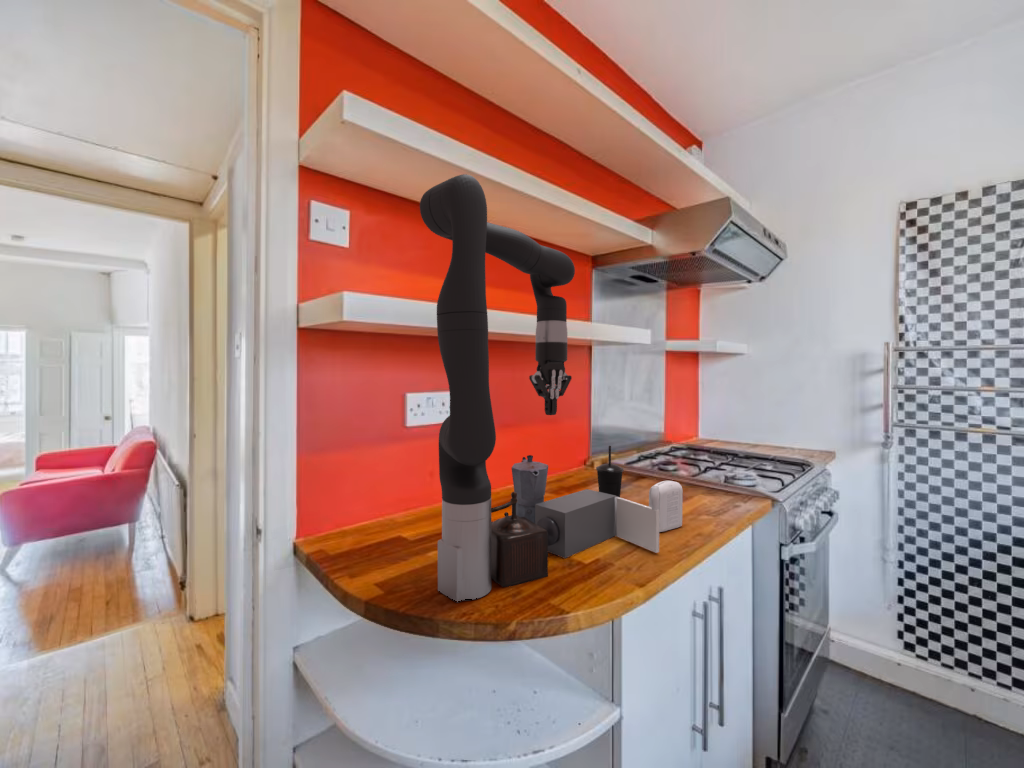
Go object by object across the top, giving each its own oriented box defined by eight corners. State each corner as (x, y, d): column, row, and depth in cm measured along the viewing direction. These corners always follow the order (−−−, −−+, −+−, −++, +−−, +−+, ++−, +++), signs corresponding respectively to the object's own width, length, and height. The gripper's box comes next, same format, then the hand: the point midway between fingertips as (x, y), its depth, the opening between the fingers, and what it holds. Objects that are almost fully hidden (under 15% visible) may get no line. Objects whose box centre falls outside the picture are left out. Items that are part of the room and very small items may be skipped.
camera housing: (561, 560, 96) (561, 514, 96) (531, 548, 102) (531, 505, 102) (616, 535, 111) (616, 495, 110) (586, 526, 117) (587, 489, 117)
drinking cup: (621, 511, 130) (621, 443, 129) (625, 520, 122) (625, 448, 122) (594, 511, 130) (595, 443, 130) (597, 519, 123) (597, 447, 122)
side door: (660, 551, 99) (661, 487, 99) (656, 552, 99) (656, 488, 98) (618, 533, 110) (618, 476, 110) (613, 535, 110) (614, 476, 109)
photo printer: (671, 522, 121) (671, 477, 120) (684, 526, 117) (685, 480, 117) (645, 529, 115) (646, 482, 115) (659, 534, 111) (660, 485, 111)
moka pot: (519, 544, 105) (519, 460, 104) (503, 523, 119) (502, 450, 119) (556, 540, 107) (556, 458, 107) (536, 520, 122) (536, 448, 122)
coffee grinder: (522, 556, 98) (522, 475, 98) (549, 576, 88) (549, 487, 88) (456, 571, 91) (456, 484, 90) (478, 595, 81) (477, 497, 80)
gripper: (544, 339, 97) (543, 417, 97) (581, 342, 106) (580, 414, 106) (520, 340, 102) (519, 415, 103) (557, 343, 112) (557, 412, 112)
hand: (550, 414), depth 105 cm, fingers closed
